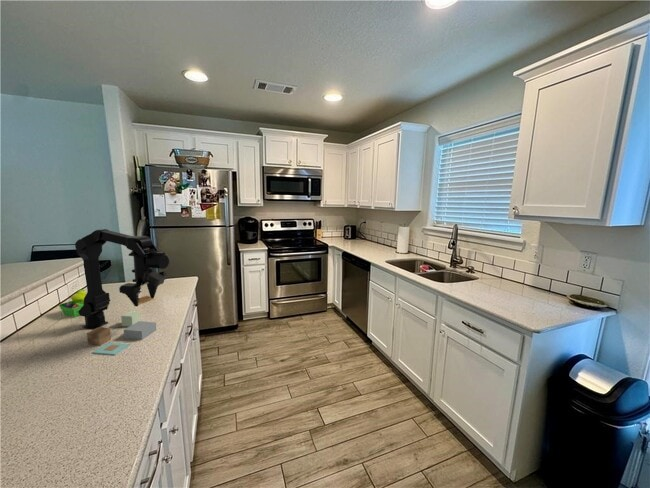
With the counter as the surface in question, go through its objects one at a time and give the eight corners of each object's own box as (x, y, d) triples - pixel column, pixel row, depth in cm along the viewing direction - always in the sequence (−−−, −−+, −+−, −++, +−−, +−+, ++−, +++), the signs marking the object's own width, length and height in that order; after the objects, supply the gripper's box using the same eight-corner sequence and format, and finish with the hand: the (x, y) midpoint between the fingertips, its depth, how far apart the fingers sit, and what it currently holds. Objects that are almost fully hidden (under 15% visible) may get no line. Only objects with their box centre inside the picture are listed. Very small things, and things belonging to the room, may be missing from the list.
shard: (136, 306, 142) (135, 303, 142) (126, 304, 144) (125, 301, 144) (155, 300, 152) (154, 297, 152) (145, 298, 155) (145, 295, 154)
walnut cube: (88, 344, 104) (86, 333, 103) (99, 338, 109) (98, 327, 108) (99, 346, 104) (98, 334, 103) (111, 339, 109) (109, 328, 108)
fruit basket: (58, 314, 129) (55, 292, 127) (81, 308, 137) (78, 287, 135) (72, 319, 125) (69, 296, 123) (94, 312, 133) (92, 290, 131)
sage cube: (122, 326, 120) (121, 315, 119) (131, 321, 125) (130, 311, 124) (132, 326, 120) (131, 316, 119) (141, 321, 124) (140, 311, 124)
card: (92, 353, 99) (92, 351, 99) (109, 343, 106) (109, 341, 105) (115, 355, 98) (114, 353, 98) (130, 345, 105) (130, 343, 105)
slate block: (124, 338, 110) (123, 329, 109) (139, 329, 118) (138, 321, 117) (142, 340, 109) (141, 331, 109) (156, 331, 117) (155, 322, 116)
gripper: (144, 274, 101) (146, 312, 104) (175, 262, 120) (176, 295, 122) (116, 272, 102) (119, 310, 104) (151, 261, 120) (153, 294, 123)
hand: (144, 302), depth 113 cm, fingers open, 9 cm apart
